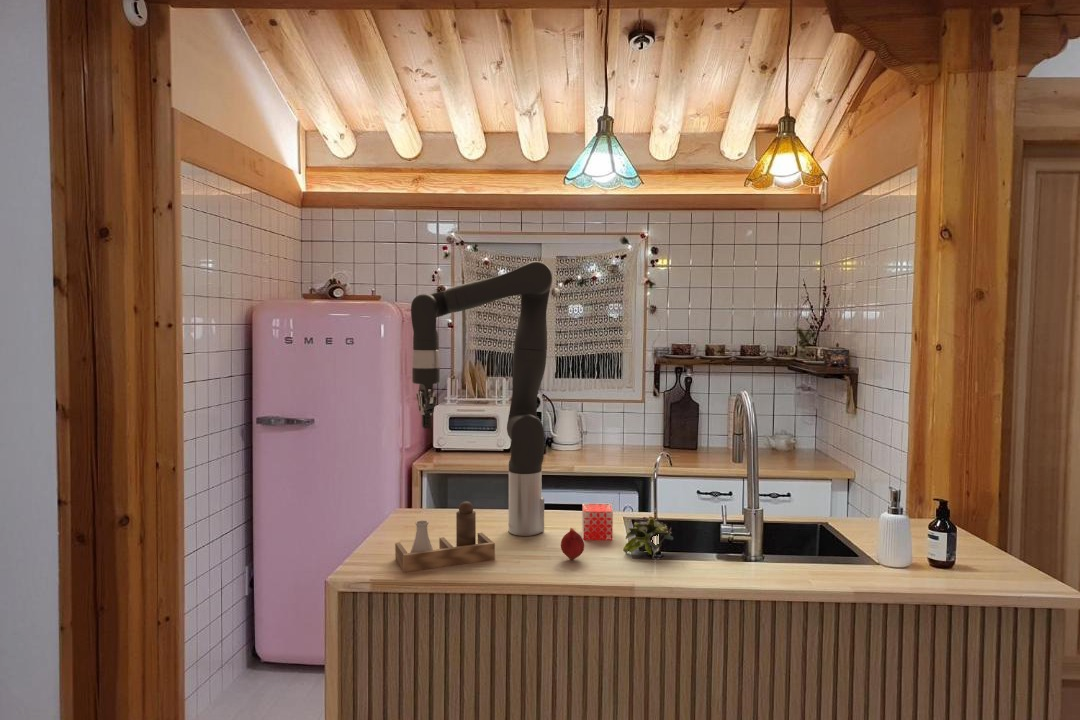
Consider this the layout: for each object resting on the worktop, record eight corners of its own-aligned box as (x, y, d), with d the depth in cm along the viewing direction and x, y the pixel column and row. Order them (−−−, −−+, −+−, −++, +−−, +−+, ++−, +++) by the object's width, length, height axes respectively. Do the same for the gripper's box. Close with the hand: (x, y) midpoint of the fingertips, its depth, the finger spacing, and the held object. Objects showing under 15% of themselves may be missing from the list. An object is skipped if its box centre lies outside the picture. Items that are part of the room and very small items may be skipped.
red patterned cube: (612, 540, 188) (612, 511, 188) (583, 540, 189) (583, 511, 188) (610, 531, 196) (610, 503, 196) (582, 531, 197) (582, 503, 196)
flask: (438, 557, 174) (438, 517, 174) (435, 567, 167) (434, 526, 167) (409, 557, 174) (409, 517, 174) (404, 567, 167) (404, 526, 166)
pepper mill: (472, 551, 179) (472, 498, 178) (478, 557, 174) (478, 502, 173) (454, 553, 177) (453, 500, 176) (459, 559, 172) (459, 504, 172)
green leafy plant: (649, 570, 181) (674, 530, 183) (659, 577, 170) (685, 535, 172) (614, 544, 181) (639, 506, 183) (621, 550, 171) (647, 509, 172)
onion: (587, 557, 174) (587, 526, 174) (578, 565, 169) (579, 532, 168) (566, 554, 177) (566, 523, 176) (557, 561, 171) (557, 529, 171)
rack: (482, 547, 182) (482, 532, 181) (494, 559, 173) (494, 543, 173) (395, 559, 173) (395, 543, 172) (404, 572, 164) (404, 555, 164)
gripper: (445, 367, 189) (445, 430, 190) (433, 364, 202) (433, 424, 203) (418, 368, 186) (418, 432, 187) (407, 365, 199) (407, 425, 200)
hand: (426, 427), depth 195 cm, fingers closed
